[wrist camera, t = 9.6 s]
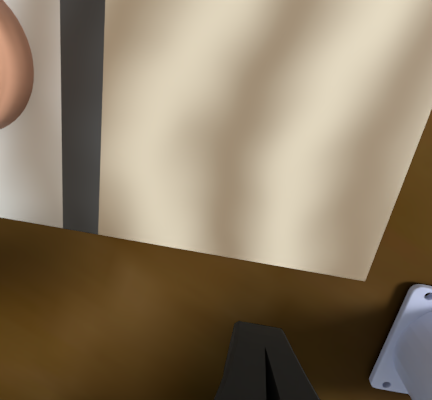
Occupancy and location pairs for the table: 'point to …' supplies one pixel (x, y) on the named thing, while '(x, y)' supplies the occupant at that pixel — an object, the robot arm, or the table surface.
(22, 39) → the puck
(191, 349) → the table surface
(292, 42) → the board
